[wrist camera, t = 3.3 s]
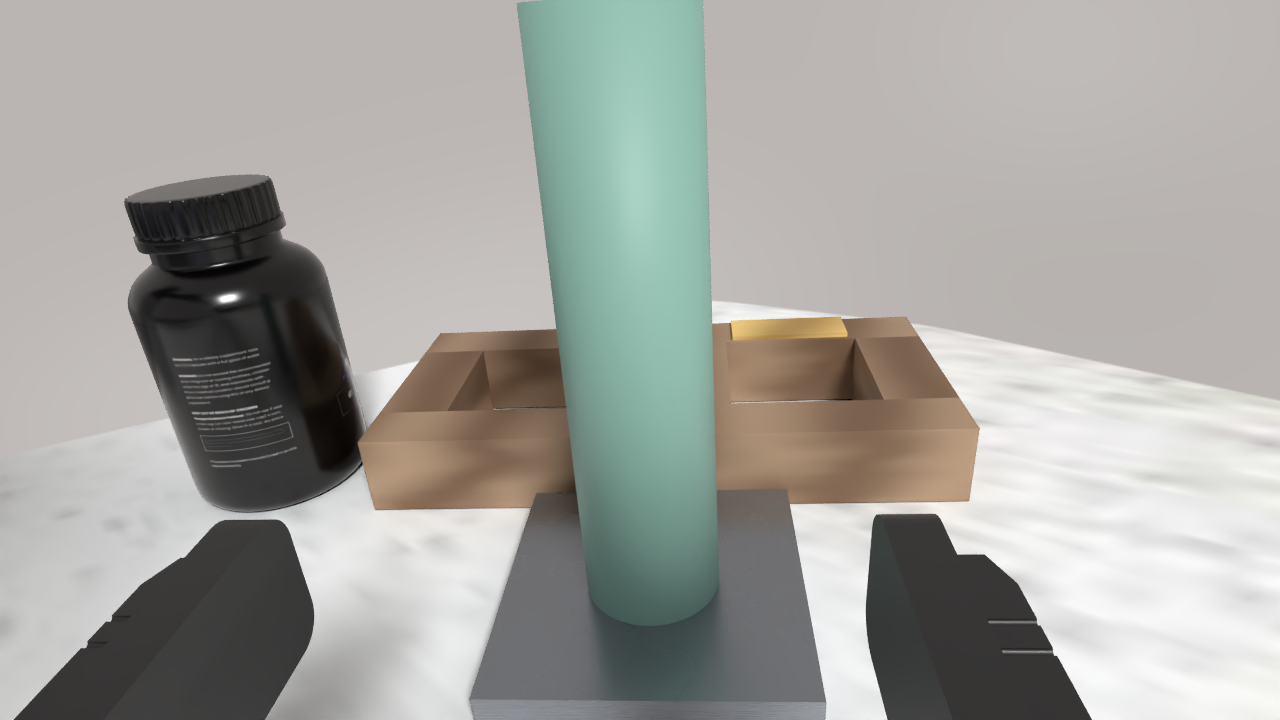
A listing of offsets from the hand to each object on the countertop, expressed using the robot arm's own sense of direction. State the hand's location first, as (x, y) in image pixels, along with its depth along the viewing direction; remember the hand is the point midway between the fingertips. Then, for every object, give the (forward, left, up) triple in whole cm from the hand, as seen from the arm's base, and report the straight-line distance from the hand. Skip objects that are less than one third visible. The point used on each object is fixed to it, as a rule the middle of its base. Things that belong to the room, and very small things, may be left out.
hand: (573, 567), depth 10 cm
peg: (0, +10, -9) cm, 13 cm away
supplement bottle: (-16, +18, -10) cm, 26 cm away
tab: (0, +10, -10) cm, 14 cm away
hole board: (0, +20, -10) cm, 22 cm away
